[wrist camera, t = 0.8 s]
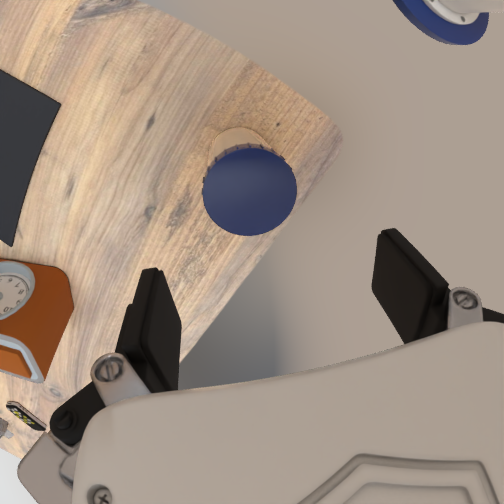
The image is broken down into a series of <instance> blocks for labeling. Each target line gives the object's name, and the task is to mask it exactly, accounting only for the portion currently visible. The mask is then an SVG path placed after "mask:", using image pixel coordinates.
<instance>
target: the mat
mask: <svg viewBox="0 0 504 504" xmlns="http://www.w3.org/2000/svg"><path fill="white" fill-rule="evenodd" d="M60 106H61V104H60V103H58V102H57V101H55V100H53V99H52V98H50V97H48V96H46V95H45V94H43V93H41V92H39V91H38V90H36V89H34V88H32V87H31V86H29V85H27V84H25V83H24V82H22V81H20V80H18V79H16V78H15V77H13V76H11V75H9V74H7V73H6V72H4V71H2V70H0V240H1V241H3V242H4V243H6V244H7V245H9V246H10V247H12V246H13V242H14V237H15V233H16V228H17V224H18V220H19V216H20V213H21V209H22V205H23V202H24V198H25V195H26V192H27V189H28V185H29V182H30V179H31V176H32V173H33V171H34V168H35V165H36V162H37V160H38V157H39V154H40V152H41V149H42V147H43V144H44V142H45V139H46V137H47V135H48V132H49V130H50V128H51V125H52V123H53V121H54V119H55V117H56V115H57V112H58V110H59V108H60Z"/></svg>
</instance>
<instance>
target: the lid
mask: <svg viewBox="0 0 504 504" xmlns="http://www.w3.org/2000/svg"><path fill="white" fill-rule="evenodd" d="M284 160H285V159H284V158H283V157H282V156H281V155H279V154H278V153H276V152H275V151H274V150H273V149H272V148H271V149H270V148H268V147H266V146H263V145H262V144H260V145H259V144H251V143H249V142H248V143H247V144H239V145H237V144H235V146H233V147H230V148H228V149H224V151H223V152H221V153H220V154H219V155H218V156H217V157H216V156H215V157H214V160H213V161H212V162H211V164H210V165H209V166H208V167H207V171H206V174H205V177H203V183H204V184H203V188H202V195H203V201H204V206H205V208H206V211H207V213H208V214H209V216H210V218H211V219H212V220H213V221H214V222H215V223H216V224H217V225H218V226H219V227H221V228H222V229H224V230H226V231H228V232H230V233H233V234H237V235H243V236H253V235H259V234H263V233H266V232H268V231H270V230H273V229H274V228H276V227H277V226H279V225H280V224H281V223H282V222H283V221H284V220H285V219H286V218H287V217H288V215H289V214H290V212H291V211H292V209H293V206H294V204H295V200H296V195H297V185H296V179H295V176H294V174H293V172H292V168H291V167H290V166H289V165H288V164H287V163H286V162H285V161H284Z"/></svg>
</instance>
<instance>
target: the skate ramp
mask: <svg viewBox="0 0 504 504" xmlns="http://www.w3.org/2000/svg"><path fill="white" fill-rule="evenodd" d="M7 426H8V422H6V421H5V420H3V419H2V418H0V439H1V438H2V437H3V436H5V437H7V438H11V437H12V436H13V435H14V434H13V433H11V432H10V431H9V430H7Z"/></svg>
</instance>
